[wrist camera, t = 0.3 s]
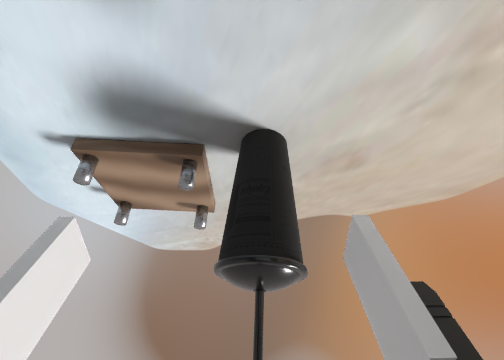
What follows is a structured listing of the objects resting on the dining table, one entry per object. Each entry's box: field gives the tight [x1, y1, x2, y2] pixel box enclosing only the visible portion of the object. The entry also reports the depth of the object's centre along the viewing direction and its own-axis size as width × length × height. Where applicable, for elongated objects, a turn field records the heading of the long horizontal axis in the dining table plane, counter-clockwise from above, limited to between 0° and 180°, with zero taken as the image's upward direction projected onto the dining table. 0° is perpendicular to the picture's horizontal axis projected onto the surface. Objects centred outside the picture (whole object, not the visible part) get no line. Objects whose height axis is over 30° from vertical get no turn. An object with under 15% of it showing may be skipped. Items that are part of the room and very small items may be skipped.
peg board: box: [71, 139, 215, 229], centre depth 36 cm, size 14×14×4 cm
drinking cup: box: [214, 130, 308, 360], centre depth 25 cm, size 8×8×20 cm
